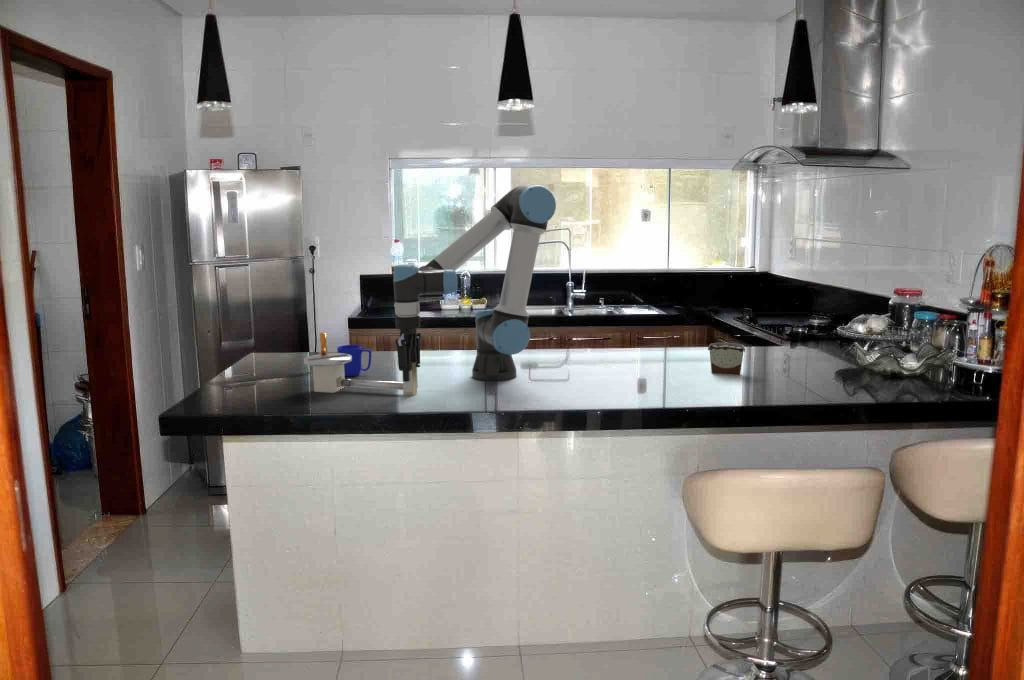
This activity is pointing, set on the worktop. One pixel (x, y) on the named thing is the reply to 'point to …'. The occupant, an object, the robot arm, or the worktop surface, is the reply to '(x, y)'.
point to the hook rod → (384, 383)
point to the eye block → (328, 378)
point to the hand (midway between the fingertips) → (410, 389)
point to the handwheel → (327, 356)
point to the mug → (354, 359)
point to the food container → (726, 358)
